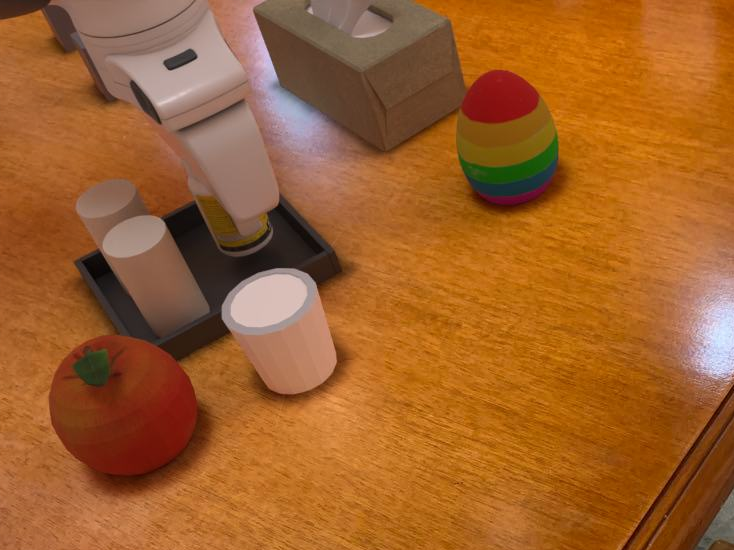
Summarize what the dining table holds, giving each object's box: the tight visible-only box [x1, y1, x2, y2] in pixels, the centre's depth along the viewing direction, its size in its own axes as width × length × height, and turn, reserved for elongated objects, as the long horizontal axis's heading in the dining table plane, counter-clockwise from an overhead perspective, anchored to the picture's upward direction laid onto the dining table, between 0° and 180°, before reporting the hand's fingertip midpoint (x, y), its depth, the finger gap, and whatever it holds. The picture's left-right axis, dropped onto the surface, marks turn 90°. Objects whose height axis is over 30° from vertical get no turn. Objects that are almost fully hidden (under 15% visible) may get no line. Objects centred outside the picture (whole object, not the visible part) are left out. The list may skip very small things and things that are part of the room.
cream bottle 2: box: [102, 214, 210, 338], centre depth 78 cm, size 5×5×8 cm
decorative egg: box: [455, 69, 560, 206], centre depth 82 cm, size 8×8×10 cm
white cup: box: [222, 268, 338, 395], centre depth 74 cm, size 7×7×7 cm
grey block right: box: [70, 32, 119, 103], centre depth 103 cm, size 4×4×6 cm
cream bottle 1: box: [75, 178, 152, 297], centre depth 82 cm, size 5×5×8 cm
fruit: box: [48, 334, 198, 477], centre depth 70 cm, size 10×10×10 cm
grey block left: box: [40, 5, 77, 53], centre depth 111 cm, size 4×4×6 cm
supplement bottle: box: [179, 157, 273, 257], centre depth 81 cm, size 5×5×8 cm
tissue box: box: [252, 0, 468, 153], centre depth 91 cm, size 19×10×16 cm, turn 41°
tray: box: [72, 192, 343, 362], centre depth 84 cm, size 17×15×3 cm
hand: (233, 212), depth 82 cm, fingers closed on supplement bottle, 5 cm apart
